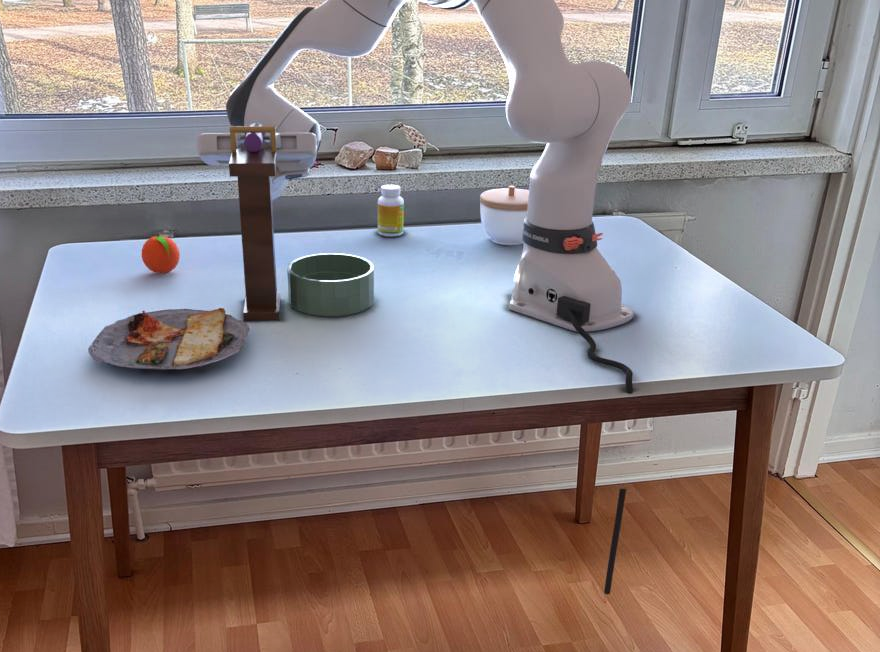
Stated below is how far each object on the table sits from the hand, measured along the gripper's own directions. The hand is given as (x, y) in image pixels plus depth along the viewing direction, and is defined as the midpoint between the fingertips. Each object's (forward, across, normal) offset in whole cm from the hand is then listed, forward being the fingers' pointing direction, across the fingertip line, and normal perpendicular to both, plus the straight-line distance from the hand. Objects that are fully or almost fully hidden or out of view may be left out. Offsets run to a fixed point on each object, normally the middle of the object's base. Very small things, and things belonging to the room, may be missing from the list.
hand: (255, 133), depth 164 cm
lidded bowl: (-39, +49, +10) cm, 64 cm away
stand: (-6, 0, +28) cm, 29 cm away
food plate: (+7, -14, +36) cm, 39 cm away
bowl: (-10, +12, +26) cm, 31 cm away
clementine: (-24, -19, +18) cm, 36 cm away
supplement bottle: (-44, +25, +7) cm, 51 cm away
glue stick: (0, 0, +2) cm, 2 cm away
